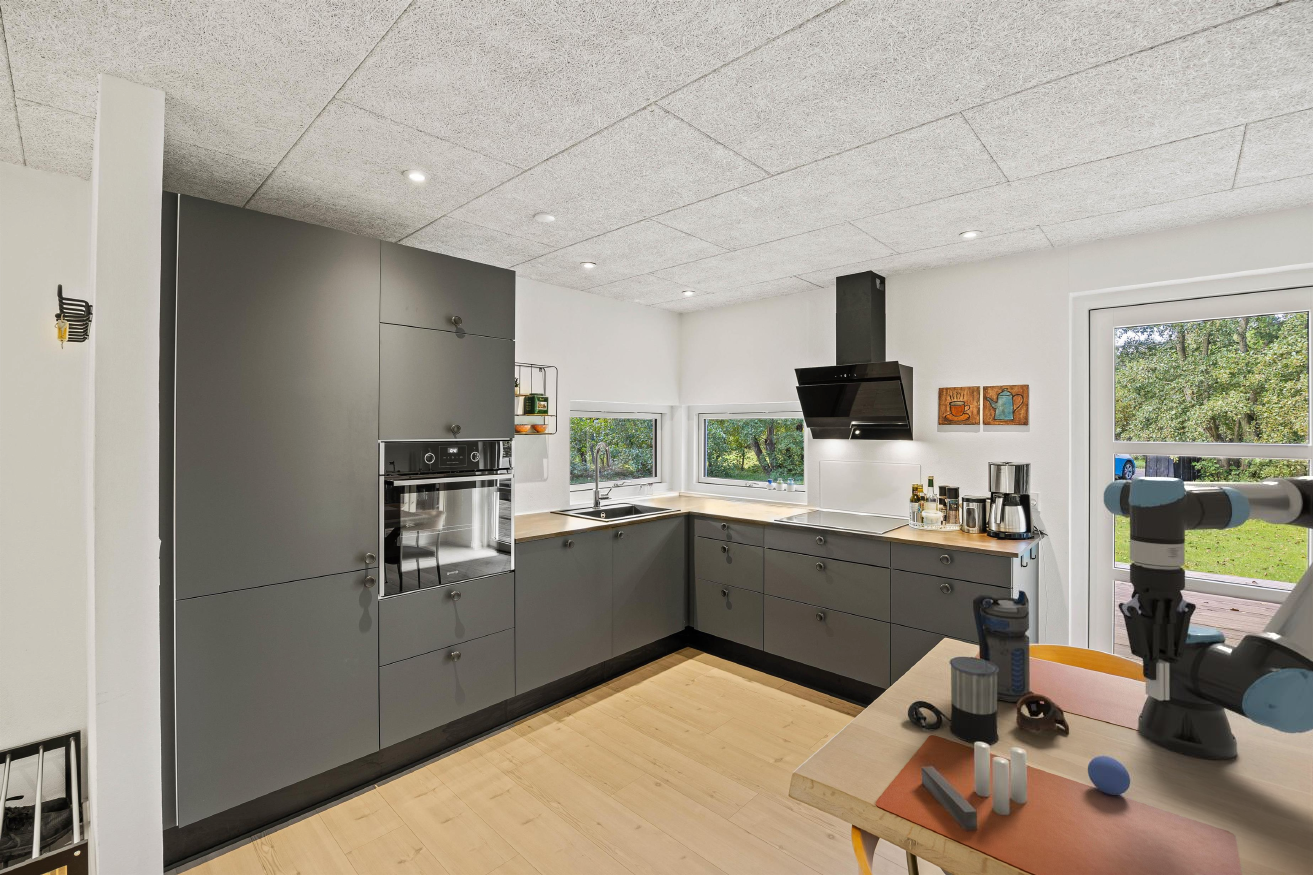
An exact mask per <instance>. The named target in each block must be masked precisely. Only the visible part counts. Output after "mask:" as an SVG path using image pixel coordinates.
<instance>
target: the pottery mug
mask: <svg viewBox="0 0 1313 875" xmlns="http://www.w3.org/2000/svg"><path fill="white" fill-rule="evenodd" d="M1023 695H1024V697H1022V698H1021V699H1020V700H1019V701H1018V702H1016V724H1017V727H1018V728H1019V730H1023V729H1027V730H1029V731H1030V730H1031V731H1035V732H1039V731H1040V730H1041V731H1046V730H1049V729H1053V730H1056V731H1057V730H1058V726H1057V725H1059V726H1061V727H1062V728H1063V729H1064V730H1065V732H1066V733H1067V734H1070V726H1069V723H1068V722H1067V719H1066V717H1065V716H1064V710H1063V709H1062V707H1060V705H1058V704H1057V703H1056V702H1054V701H1053V700H1052V699H1051V698H1049V697H1048V696H1045V695H1044V694H1039V693H1034V692H1033V691H1031V690H1030V691H1027V692H1025V693H1024V694H1023ZM1023 705H1025V708H1026V710H1027V712H1028V715H1029V716H1028V715H1026V714H1024V713H1023V711H1022V707H1023ZM1041 714H1042V716H1041V717H1040V715H1041Z"/></svg>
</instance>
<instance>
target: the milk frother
mask: <svg viewBox="0 0 1313 875" xmlns="http://www.w3.org/2000/svg"><path fill="white" fill-rule="evenodd" d="M948 663H949V665H950V684H951V685H950V686H951V687H950V689H951V690H950V691H951V692H950V693H951V696H950V697H951V700H950V702H951V709H950V710H951V711H950V712H951V713H950V718H948V717H947V716H946V715H945V713H943V712H942V710H940V709H939V708H938V707H936V706H934V704H932V703H930V702H928V701H924V700H917V701H914V702H913V703H911V704H910V705H909V706H908V709H907V717H908V719H909V721H910V722H911V723H912V724H913V725H915V727H917V728H920V729H924V730H927V731H934V730H938V729H939V728H941V726H942V724H943V717H944V718H945V719H946V720H947V721H948V722H950V725H949V730H950V732H951V734H953V735H954V736H955V737H956V738H958V739H961V740H963V741H965V742H968V743H972V744H974V743H975V742H984V743H986V744H988V745H991V744H995V743H997V742H998V741H999V738H1000V737H999V734H998V719H997V718H998V709H997V708H998V699H997V672H998V671H999V669H998V667H997V666H996V665H994V664H993V663H991V662H988V661H986V660H983V659H980V657H979V658H978V657H973V656H956V657H953V658H951V659H949V662H948ZM920 709H927V710H928V711H930V712H932V714H934V715H935V718H936V720H935V722H933V723H932V722H931V723H926V722H927V721H926V720H927V716H925V715H924V713H923V712H922V710H920Z"/></svg>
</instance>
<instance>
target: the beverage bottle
mask: <svg viewBox="0 0 1313 875" xmlns="http://www.w3.org/2000/svg"><path fill="white" fill-rule="evenodd" d="M1029 602H1030V601H1029V598H1028V596H1027V594H1026V591H1024V590H1018V597H1017V598H1015V597H1009V596H1004V595H1003V596H1001V595H1000V596H999V595H998V596H997V595H995V596H993V595H990V594H979V595H977V596H976V597H975V598H974V599H973V600H972V610H973V615H974V622H975V625H976V633H977V638H978V646H979V659H983V660H986V661H988V662H991V663H993V664H994V665H996V666H997V667H998V669H999V671H998V672H997V700H1000V701H1004V702H1010V703H1017V702H1018V701H1019V700H1020V699H1021V698H1022V697H1024V695H1023V694H1024V693H1025V692H1027V691H1031V689H1030V688H1031V687H1030V686H1031V685H1030V683H1031V682H1030V681H1031V680H1030V677H1031V675H1030V674H1031V673H1030V664H1031V662H1030V637H1029V635H1028V634H1026V633H1027V631H1029V629H1030V608H1029V606H1030V605H1029V604H1030V603H1029Z"/></svg>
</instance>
